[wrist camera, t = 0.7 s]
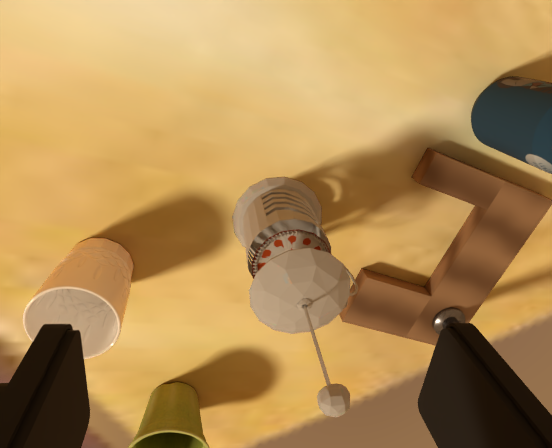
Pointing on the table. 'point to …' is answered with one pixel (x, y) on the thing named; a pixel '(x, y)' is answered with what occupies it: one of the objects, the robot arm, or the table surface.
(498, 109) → the soda can
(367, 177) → the table surface
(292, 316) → the french press
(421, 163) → the u-shaped wooden block
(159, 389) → the plant pot
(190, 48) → the table surface
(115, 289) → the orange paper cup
